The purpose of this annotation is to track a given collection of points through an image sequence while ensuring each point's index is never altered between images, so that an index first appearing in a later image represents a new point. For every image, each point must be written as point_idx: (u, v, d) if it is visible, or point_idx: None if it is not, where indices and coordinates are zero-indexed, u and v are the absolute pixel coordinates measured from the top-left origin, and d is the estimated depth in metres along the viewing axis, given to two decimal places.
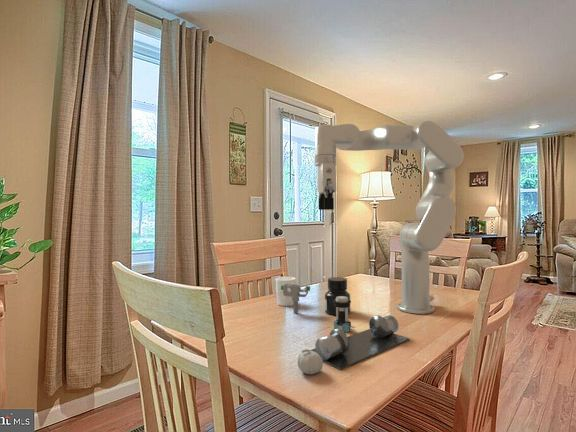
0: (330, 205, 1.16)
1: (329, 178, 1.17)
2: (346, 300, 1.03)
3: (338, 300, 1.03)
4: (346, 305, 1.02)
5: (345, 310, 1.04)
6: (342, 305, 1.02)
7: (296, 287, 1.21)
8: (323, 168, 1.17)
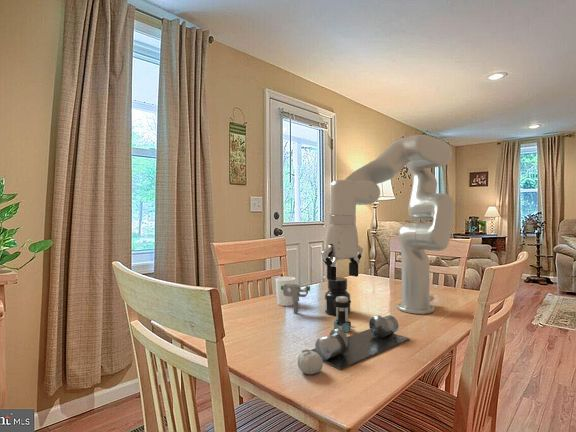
0: None
1: None
2: (346, 300, 1.03)
3: (338, 300, 1.03)
4: (346, 305, 1.02)
5: (345, 310, 1.04)
6: (342, 305, 1.02)
7: (296, 287, 1.21)
8: None
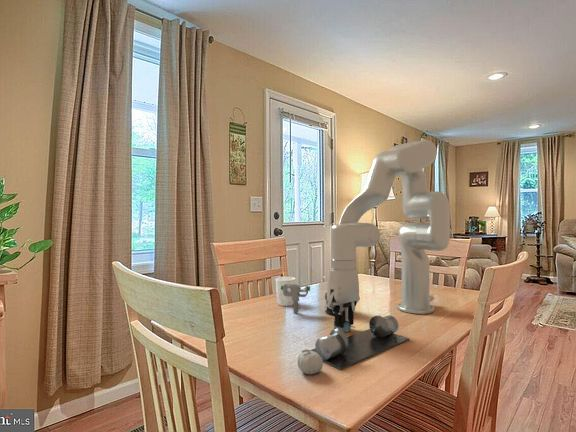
0: None
1: None
2: None
3: None
4: (346, 305, 1.02)
5: (345, 310, 1.04)
6: None
7: (296, 287, 1.21)
8: None
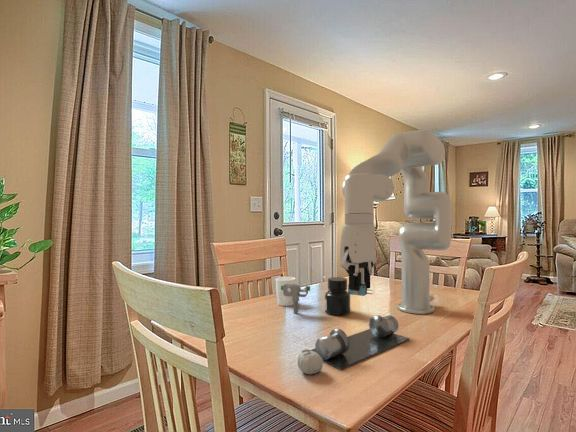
0: None
1: None
2: None
3: None
4: (362, 265, 0.90)
5: (361, 271, 0.91)
6: None
7: (296, 287, 1.21)
8: None
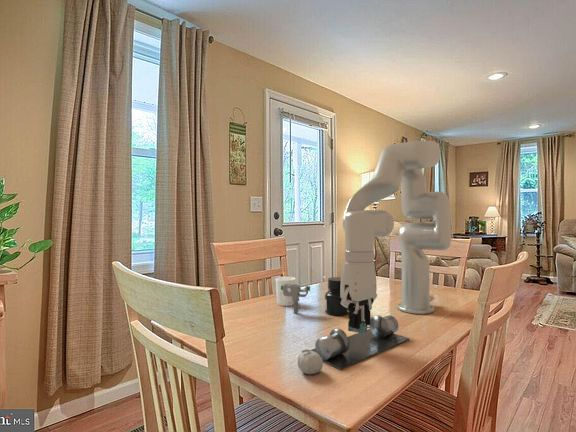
0: None
1: None
2: None
3: None
4: (362, 303, 0.90)
5: (361, 308, 0.91)
6: None
7: (296, 287, 1.21)
8: None
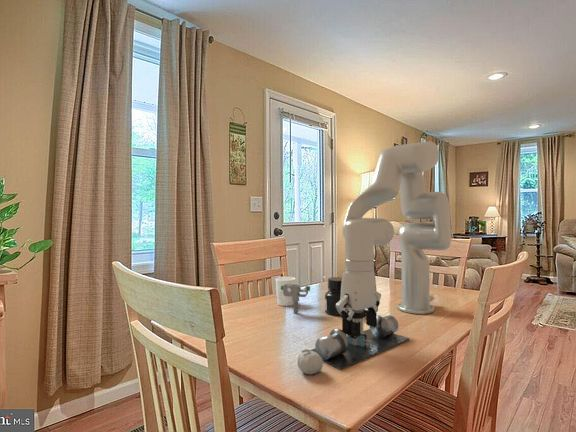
0: None
1: None
2: (361, 310, 0.91)
3: None
4: (361, 316, 0.90)
5: (360, 321, 0.92)
6: (357, 316, 0.90)
7: (296, 287, 1.21)
8: None
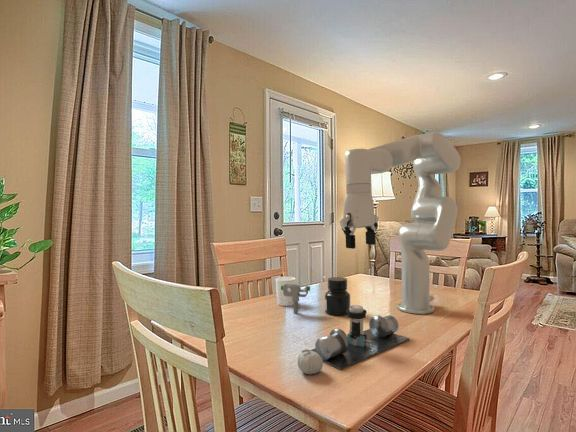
0: None
1: None
2: (361, 310, 0.91)
3: (352, 310, 0.91)
4: (361, 316, 0.90)
5: (360, 321, 0.91)
6: (356, 316, 0.90)
7: (296, 287, 1.21)
8: None
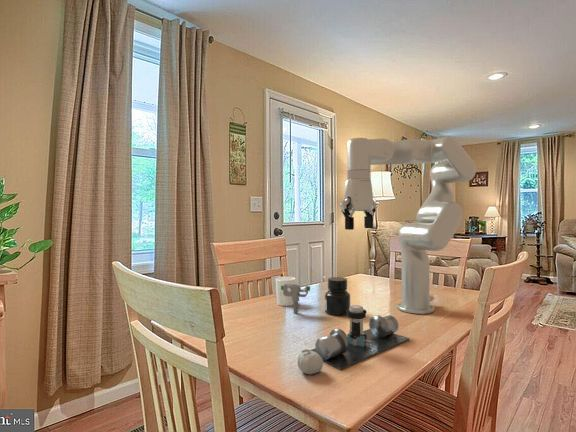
0: None
1: None
2: (361, 310, 0.91)
3: (352, 310, 0.91)
4: (361, 316, 0.90)
5: (360, 321, 0.91)
6: (356, 316, 0.90)
7: (296, 287, 1.21)
8: None
